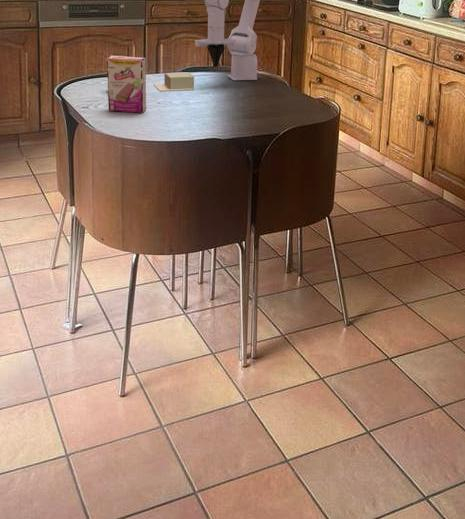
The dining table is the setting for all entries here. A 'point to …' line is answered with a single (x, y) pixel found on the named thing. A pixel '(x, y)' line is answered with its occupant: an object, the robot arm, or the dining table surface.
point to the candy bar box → (126, 84)
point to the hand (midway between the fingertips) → (215, 66)
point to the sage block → (178, 80)
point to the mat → (163, 88)
